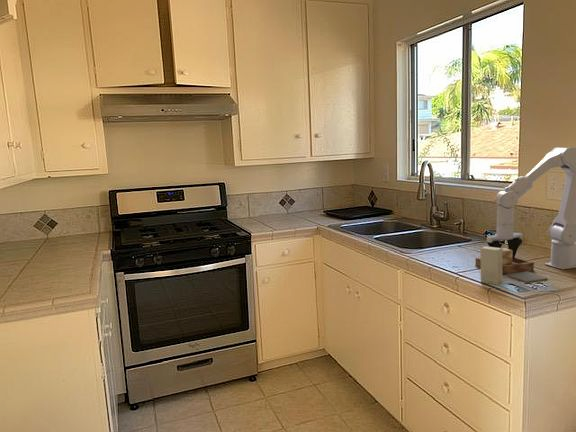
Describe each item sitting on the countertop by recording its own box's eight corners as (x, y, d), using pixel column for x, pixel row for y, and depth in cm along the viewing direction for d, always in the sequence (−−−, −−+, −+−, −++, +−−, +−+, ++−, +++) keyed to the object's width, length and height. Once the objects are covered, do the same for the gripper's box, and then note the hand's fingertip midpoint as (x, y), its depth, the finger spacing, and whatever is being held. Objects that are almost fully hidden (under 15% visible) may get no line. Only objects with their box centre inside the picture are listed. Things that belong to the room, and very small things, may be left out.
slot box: (505, 261, 179) (505, 253, 178) (533, 270, 165) (533, 262, 165) (475, 265, 175) (475, 258, 174) (501, 275, 162) (502, 267, 161)
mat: (526, 272, 163) (526, 271, 163) (547, 279, 154) (547, 278, 154) (506, 276, 160) (506, 274, 160) (526, 283, 152) (526, 281, 152)
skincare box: (502, 282, 154) (503, 247, 152) (498, 285, 151) (499, 250, 149) (484, 279, 158) (485, 245, 156) (479, 282, 155) (480, 248, 153)
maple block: (504, 260, 172) (504, 248, 171) (512, 263, 168) (512, 250, 168) (495, 262, 171) (495, 249, 170) (503, 264, 167) (503, 251, 167)
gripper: (512, 220, 173) (511, 254, 175) (481, 223, 169) (480, 258, 171) (527, 223, 167) (525, 258, 169) (494, 226, 163) (493, 263, 165)
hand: (503, 259), depth 170 cm, fingers open, 6 cm apart
